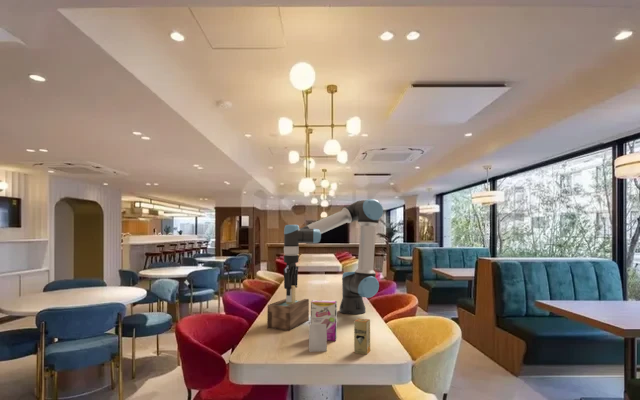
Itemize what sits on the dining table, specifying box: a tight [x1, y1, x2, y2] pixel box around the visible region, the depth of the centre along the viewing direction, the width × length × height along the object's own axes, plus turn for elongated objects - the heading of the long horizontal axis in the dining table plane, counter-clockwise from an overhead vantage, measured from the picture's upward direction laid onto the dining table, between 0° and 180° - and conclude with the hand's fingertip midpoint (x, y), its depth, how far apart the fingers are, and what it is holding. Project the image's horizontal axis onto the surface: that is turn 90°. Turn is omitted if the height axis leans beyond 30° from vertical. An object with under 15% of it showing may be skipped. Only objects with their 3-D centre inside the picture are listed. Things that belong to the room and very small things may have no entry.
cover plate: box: [279, 285, 299, 306], centre depth 201 cm, size 9×20×11 cm, turn 159°
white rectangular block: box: [308, 323, 328, 353], centre depth 156 cm, size 4×7×10 cm, turn 96°
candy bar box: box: [310, 299, 338, 342], centre depth 171 cm, size 11×5×16 cm, turn 84°
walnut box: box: [266, 298, 310, 331], centre depth 199 cm, size 12×23×11 cm, turn 159°
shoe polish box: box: [353, 318, 371, 355], centre depth 153 cm, size 5×5×12 cm
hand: (290, 301), depth 201 cm, fingers closed on cover plate, 3 cm apart
